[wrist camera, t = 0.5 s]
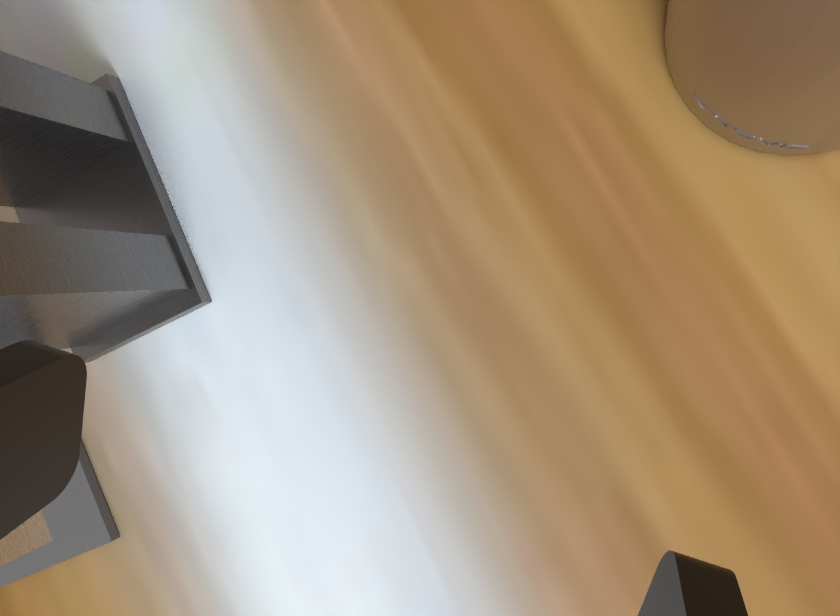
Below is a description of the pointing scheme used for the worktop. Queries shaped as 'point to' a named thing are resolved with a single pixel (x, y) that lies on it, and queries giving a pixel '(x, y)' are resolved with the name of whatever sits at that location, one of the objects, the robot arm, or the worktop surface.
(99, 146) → the rack
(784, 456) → the worktop surface
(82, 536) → the mat
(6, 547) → the rail
